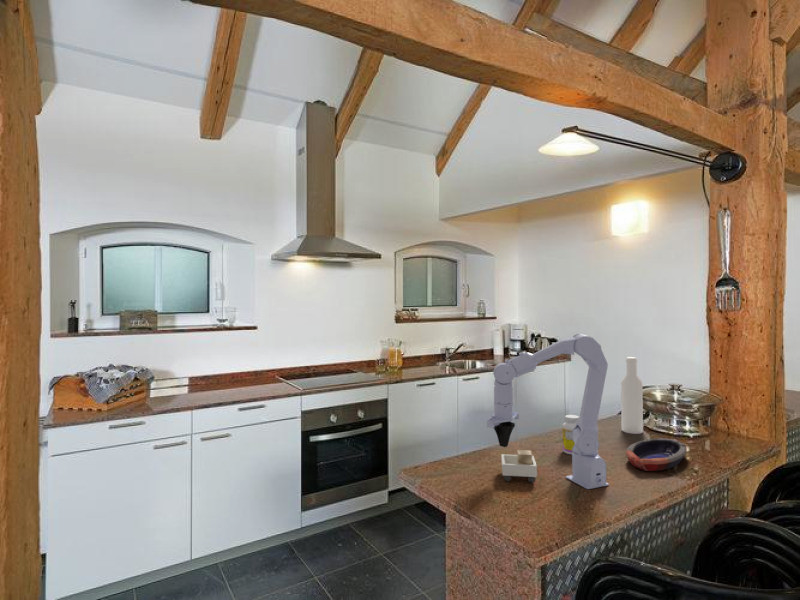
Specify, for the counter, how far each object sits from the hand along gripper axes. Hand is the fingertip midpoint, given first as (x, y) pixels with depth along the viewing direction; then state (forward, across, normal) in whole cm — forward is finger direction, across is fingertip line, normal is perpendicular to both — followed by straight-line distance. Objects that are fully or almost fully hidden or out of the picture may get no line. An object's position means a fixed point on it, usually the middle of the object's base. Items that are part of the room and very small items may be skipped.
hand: (503, 446), depth 146 cm
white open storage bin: (+10, -3, +4) cm, 11 cm away
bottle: (+9, -76, +11) cm, 77 cm away
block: (+7, -4, +5) cm, 9 cm away
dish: (+10, -46, +29) cm, 55 cm away
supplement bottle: (+10, -36, +5) cm, 37 cm away
